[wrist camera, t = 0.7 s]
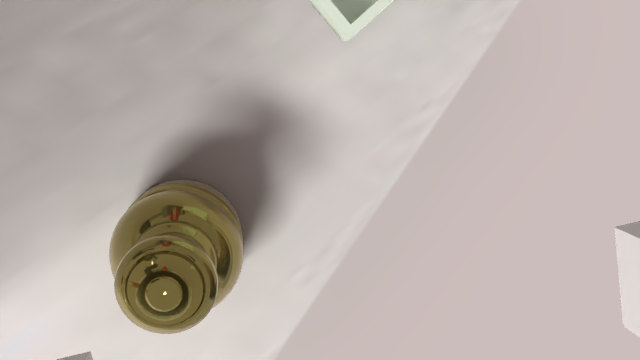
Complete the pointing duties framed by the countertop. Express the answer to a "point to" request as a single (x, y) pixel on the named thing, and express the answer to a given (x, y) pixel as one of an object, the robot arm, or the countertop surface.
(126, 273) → the gold stepped round piece
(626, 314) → the robot arm
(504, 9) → the countertop surface
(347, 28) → the tray
